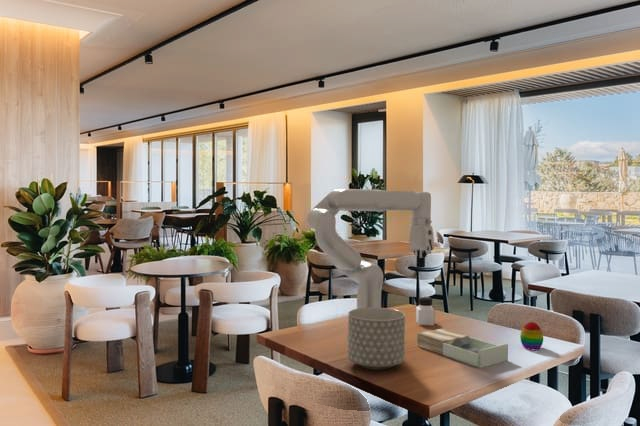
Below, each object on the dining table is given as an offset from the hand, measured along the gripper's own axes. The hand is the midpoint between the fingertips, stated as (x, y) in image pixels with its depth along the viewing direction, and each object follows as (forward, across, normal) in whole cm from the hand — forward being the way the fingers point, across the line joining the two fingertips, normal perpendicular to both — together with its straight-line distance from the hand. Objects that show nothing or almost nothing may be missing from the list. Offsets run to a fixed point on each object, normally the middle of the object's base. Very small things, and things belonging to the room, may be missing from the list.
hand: (420, 267), depth 210 cm
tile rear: (+25, -23, +2) cm, 34 cm away
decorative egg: (+29, -33, -27) cm, 52 cm away
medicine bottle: (+29, +16, -19) cm, 38 cm away
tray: (+29, -30, +2) cm, 42 cm away
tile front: (+26, -28, +2) cm, 39 cm away
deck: (+29, -14, +2) cm, 33 cm away
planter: (+29, -18, +38) cm, 51 cm away
